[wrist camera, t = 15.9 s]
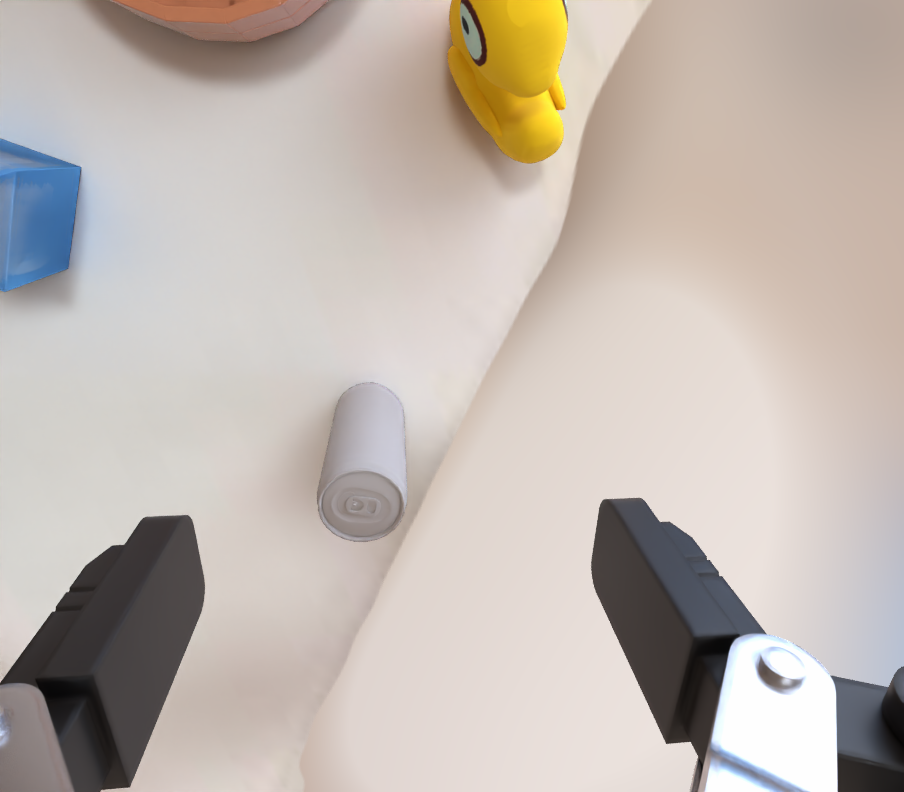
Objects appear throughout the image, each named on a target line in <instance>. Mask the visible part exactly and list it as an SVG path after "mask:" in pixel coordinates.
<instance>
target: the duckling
mask: <svg viewBox="0 0 904 792" xmlns="http://www.w3.org/2000/svg"><path fill="white" fill-rule="evenodd" d="M449 21H450V32H451V38H452V43H453V46H451V47H450V48H449V50H448V64H449V68H450V71H451V74H452V76H453V78H454V81H455V83H456V85H457V87H458V89H459V91H460V93H461V95H462V96H463V98H464V100H465V102H466V103H467V105H468V106H469V108H470V110H471V111H472V113H473V114H474V116H475V117H476V119H477V120H478V121H479V123H480V124H481V125H482V127H483V128H484V129H485V130H486V131H487V132H488V133H489V134H490V135H491V136H492V138H493V139H494V141H495V143H496V144H497V146H498V147H499V148H500V150H501V151H502V152H503V153H504V154H506V155H507V156H508V157H510V158H512V159H514V160H516V161H519V162H522V163H536V162H539V161H542V160H544V159H546V158H548V157H550V156H551V155H553V154H554V153H555V152H556V151H557V150H558V149H559V147H560V145H561V143H562V140H563V134H564V130H563V123H562V120H561V118H560V115H559V114H558V112H557V111H556V110H563V109H565V107H566V100H565V95H564V91H563V88H562V85H561V82H560V79H559V76H558V73H557V72H558V68H559V65H560V61H561V58H562V55H563V52H564V48H565V44H566V39H567V31H568V14H567V6H566V0H452V2H451V6H450V15H449Z"/></svg>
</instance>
